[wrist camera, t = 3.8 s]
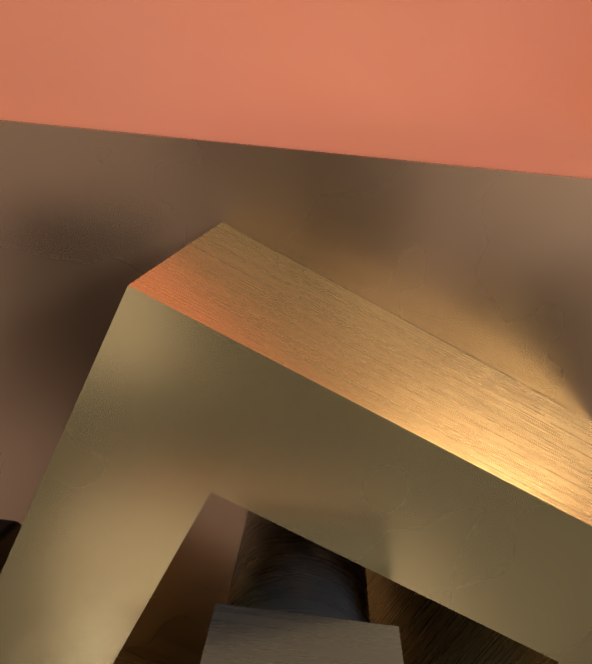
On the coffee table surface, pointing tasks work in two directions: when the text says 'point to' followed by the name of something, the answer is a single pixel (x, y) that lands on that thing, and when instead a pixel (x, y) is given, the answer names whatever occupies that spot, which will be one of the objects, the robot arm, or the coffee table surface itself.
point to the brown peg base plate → (321, 257)
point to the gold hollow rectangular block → (306, 468)
